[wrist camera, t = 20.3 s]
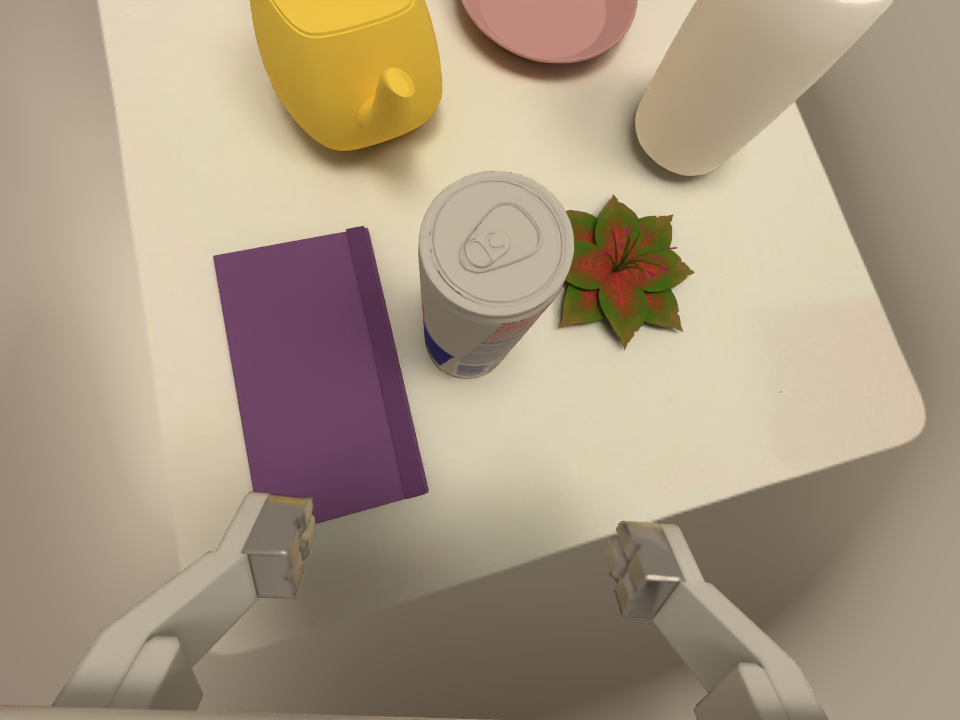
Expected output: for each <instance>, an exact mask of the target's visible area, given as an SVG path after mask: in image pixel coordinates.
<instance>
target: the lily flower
mask: <svg viewBox="0 0 960 720" xmlns="http://www.w3.org/2000/svg"><path fill="white" fill-rule="evenodd" d="M565 212H566V214H567V216H568V218H569V220H570V223H571V226H572V230H573V235H574V254H573V259H572V263H571V266H570V270H569V272H568V274H567V276H566V279H565V281H567V282H569V283H570V284H569V286H568V288H567V291H566V294H565V299H564V305H563V312H562V314H563V320H562V321H561V324H560V327H559V328H561V327H564V326H565V325H566V326H569V325H575V324H576V323H580V324H585V323H591V322H595V321H598V320H601V319H603V318H605V317H607V319H608V320H609V322H610V324H611V326H612V327H613V329H614V331H615V333H616V334H617V336H618V337H620V339H621V340H622V341H621V342H622V345H623V347H624V350H625V348H626V346H627V343H629V341H630V340H631V339H632V337H633V336H634V332H635V331H638V330H639V328H640V327H641V326H642V324H643V323H644V321H645V322H648V323H651V324H655V325H658V326H662V327H667V328H671V327H672V328H673V327H675V329H677V330H680V331H682V332H683V330H682V327H681V326H680V325H681V323H680V317H679V315H678V314H677V313H678V312H679V310H678V304H677V301H676V298H675V296H674V294H673V292H672V291H671V288H673V287H675V286H676V285H678V284H680V283H681V282H682V281H683V280H685V279H686V278H687V275H691V274H693V273H695V272H694V271H692V270H690V268H689V267H688V266H687V265H686V264H685V263H684V262H681V258H680V257H679V256H678V255H677V254H676V253H675V252H674V251H672V250H670V249H676V248H677V247H674V248H670V245H671V241H672V226H671V224H670V221H672V217H673V215H669V216H659V217H658V218H657V217H656V216H647V217H643V218H640V219H638V217H637V216H636V214H635V213H634V212H633V211H632V210H631V209H629V208H628V207H627V206H626V205H624V204H623V203H620V202H618V199H617V198H616V197H615V196H614V195H613V196H612V199H611V200H610V201H609V202H608V206H605V207H604V209H603V210H602V212H601V214H600V216H599V218H596V217H595V216H593V215H591V214H588V213H585V212H580V211H573V210H568V211H565Z"/></svg>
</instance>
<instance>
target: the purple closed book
mask: <svg viewBox="0 0 960 720" xmlns="http://www.w3.org/2000/svg"><path fill="white" fill-rule="evenodd" d="M213 258H214V263H215V269H216V275H217V281H218V287H219V293H220V299H221V304H222V310H223V316H224V322H225V328H226V334H227V339H228V345H229V351H230V357H231V363H232V369H233V375H234V380H235V386H236V392H237V398H238V404H239V410H240V416H241V421H242V427H243V433H244V439H245V445H246V451H247V456H248V462H249V468H250V474H251V480H252V486H253V492H261V493H272V494H281V495H291V496H301V497H311V498H313V503H314V507H313V510H312V513H311V514H312V515H313V516H314V517H315V524H316V523H320V522H324V521H327V520H331V519H334V518H338V517H342V516H345V515H349V514H352V513H356V512H360V511H363V510H367V509H370V508H374V507H378V506H381V505H385V504H388V503H392V502H396V501H399V500H403V499H409V498H412V497H416V496H420V495H423V494H425V493H428V486H427V482H426V477H425V473H424V469H423V464H422V460H421V456H420V451H419V447H418V443H417V438H416V434H415V430H414V425H413V421H412V417H411V412H410V408H409V404H408V400H407V395H406V391H405V387H404V382H403V378H402V374H401V369H400V365H399V361H398V356H397V352H396V348H395V343H394V339H393V335H392V330H391V326H390V322H389V317H388V313H387V309H386V304H385V300H384V296H383V291H382V287H381V283H380V278H379V274H378V270H377V265H376V261H375V257H374V252H373V248H372V244H371V239H370V235H369V231H368V228H364V226H361V227H355V228H350V229H346V232H341V233H336V234H330V235H325V236H319V237H314V238H308V239H303V240H298V241H292V242H287V243H281V244H276V245H270V246H265V247H259V248H254V249H248V250H243V251H237V252H232V253H226V254H221V255H215V256H213Z"/></svg>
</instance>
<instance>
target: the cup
mask: <svg viewBox="0 0 960 720" xmlns="http://www.w3.org/2000/svg"><path fill="white" fill-rule="evenodd" d="M893 1H894V0H697V1H696V2H695V4H694V6H693V7H692V9H691V11H690V12H689V14H688V16H687V17H686V19H685V21H684V22H683V24H682V26H681V28H680V29H679V31H678V33H677V35H676V36H675V38H674V40H673V42H672V44H671V45H670V47H669V49H668V51H667V52H666V54H665V56H664V58H663V60H662V62H661V64H660V65H659V67H658V69H657V71H656V73H655V75H654V77H653V78H652V80H651V82H650V84H649V86H648V88H647V90H646V92H645V94H644V96H643V98H642V100H641V102H640V104H639V106H638V108H637V113H636V117H635V126H636V133H637V136H638V139H639V142H640V145H641V146H642V147H643V149H644V150H645V152H646V153H647V154H648V155H649V156H650V157H651V158H652V159H653V160H654V161H655V162H656V163H657V164H659V165H660V166H662V167H664V168H666V169H667V170H669V171H671V172H674V173H677V174H680V175H687V176H696V175H701V174H706V173H709V172H711V171H713V170H715V169H716V168H718V167H719V166H721V165H722V164H723V163H724V162H726V161H727V160H728V159H729V158H731V157H732V156H733V155H734V154H736V153H737V152H738V151H739V150H740V149H741V148H743V147H744V146H745V145H746V144H747V143H748V142H750V141H751V140H752V139H753V138H754V137H756V136H757V135H758V134H759V133H760V132H761V131H762V130H763V129H765V128H766V127H767V126H768V125H769V124H770V123H771V122H772V121H774V120H775V119H776V118H777V117H778V116H779V115H780V114H781V113H782V112H784V111H785V110H786V109H787V108H788V107H789V106H790V105H791V104H792V103H793V102H794V101H795V100H797V99H798V97H800V96H801V95H802V94H803V93H804V92H805V91H806V90H807V89H808V88H809V87H810V86H811V85H813V84H814V83H815V82H816V81H817V80H818V79H819V78H820V77H821V76H822V75H823V74H824V73H825V72H826V71H827V70H828V69H829V68H830V67H831V66H832V65H833V64H834V63H835V62H836V61H837V60H838V59H839V58H840V57H841V56H842V55H843V54H844V53H845V52H846V51H847V50H848V49H849V48H850V47H851V46H852V45H853V44H854V43H855V42H856V41H857V40H858V39H859V38H860V37H861V36H862V35H863V34H864V33H865V32H866V31H867V29H868V28H869V27H870V26H871V25H872V24H873V23H874V22H875V21H876V20H877V19H878V18H879V17H880V15H881V14H882V13H883V12H884V11H885V10H886V9H887V8H888V7H889V6H890V5H891V4H892V2H893Z"/></svg>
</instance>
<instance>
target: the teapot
mask: <svg viewBox="0 0 960 720" xmlns="http://www.w3.org/2000/svg"><path fill="white" fill-rule="evenodd" d="M250 6H251V12H252V19H253V25H254V30H255V35H256V39H257V43H258V47H259V50H260V54H261V57H262V60H263V64H264V67H265V69H266V72H267V74H268V77H269V79H270V81H271V84H272V86H273V88H274V90H275V92H276V94H277V96H278V98H279V99H280V101H281V102H282V104H283V105H284V107H285V108H286V109H287V111H288V112H289V113H290V115H291V116H292V117H293V118H294V120H295V121H296V122H297V123H298V124H299V125H300V127H301V128H302V129H303V130H304V131H305V132H306V133H307V134H308V135H309V136H311V137H312V138H313V139H314V140H316V141H317V142H319V143H320V144H322V145H324V146H326V147H328V148H331V149H334V150H338V151H350V150H355V149H360V148H364V147H368V146H372V145H375V144H378V143H382V142H385V141H388V140H390V139H393V138H396V137H398V136H400V135H403V134H405V133H407V132H410V131H412V130H414V129H416V128H417V127H419V126H421V125H422V124H423V123H425V122H426V121H427V120H428V119H429V118H430V117H431V116H432V115H433V113H434V112H435V110H436V109H437V107H438V105H439V102H440V100H441V94H442V75H441V66H440V57H439V51H438V46H437V41H436V37H435V33H434V29H433V25H432V21H431V18H430V14H429V11H428V8H427V6H426V3H425V0H250Z"/></svg>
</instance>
